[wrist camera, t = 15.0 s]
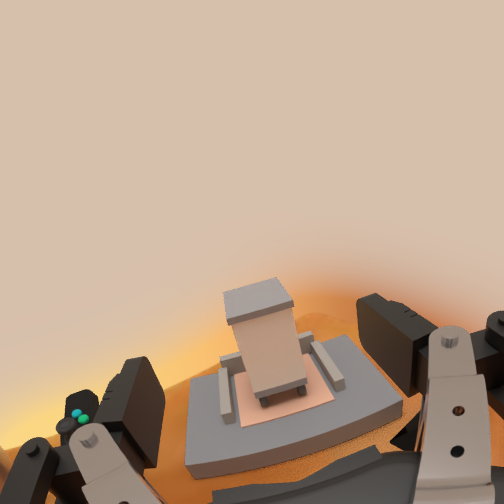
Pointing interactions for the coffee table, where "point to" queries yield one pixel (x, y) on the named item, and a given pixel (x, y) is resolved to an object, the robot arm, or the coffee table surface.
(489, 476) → the robot arm
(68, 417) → the controller
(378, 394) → the dock
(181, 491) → the coffee table surface
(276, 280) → the box with lid
